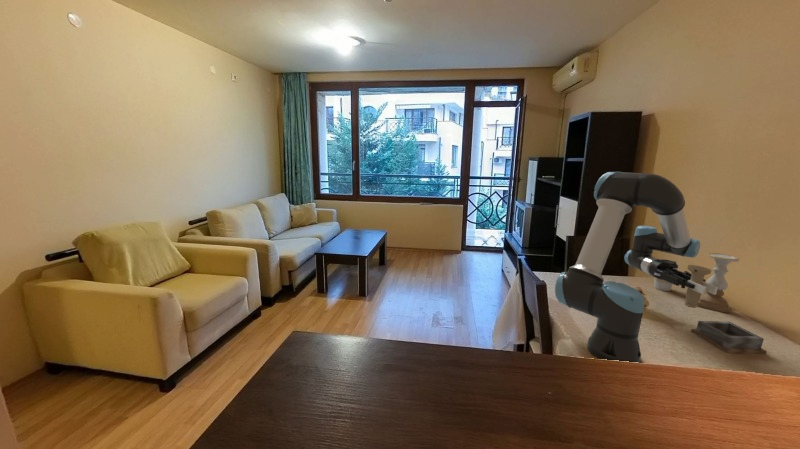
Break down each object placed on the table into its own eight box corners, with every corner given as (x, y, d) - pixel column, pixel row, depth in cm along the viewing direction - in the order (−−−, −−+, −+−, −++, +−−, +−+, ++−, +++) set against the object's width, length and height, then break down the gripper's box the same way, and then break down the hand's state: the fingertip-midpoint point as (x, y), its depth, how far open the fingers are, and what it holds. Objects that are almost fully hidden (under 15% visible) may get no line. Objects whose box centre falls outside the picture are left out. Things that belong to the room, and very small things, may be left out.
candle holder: (695, 298, 159) (706, 251, 154) (726, 305, 152) (739, 256, 147) (696, 306, 151) (707, 255, 146) (729, 313, 144) (742, 261, 139)
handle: (698, 311, 118) (707, 271, 115) (677, 304, 124) (685, 265, 121) (704, 308, 120) (714, 269, 117) (683, 301, 126) (692, 264, 123)
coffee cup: (653, 289, 169) (658, 261, 166) (649, 283, 177) (655, 256, 174) (675, 293, 165) (681, 264, 162) (670, 287, 173) (676, 259, 170)
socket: (726, 352, 114) (729, 339, 113) (690, 331, 127) (693, 319, 126) (766, 353, 114) (769, 340, 113) (726, 332, 128) (729, 320, 127)
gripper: (674, 277, 139) (730, 301, 116) (636, 276, 138) (684, 300, 115) (678, 260, 137) (735, 281, 114) (639, 259, 137) (689, 280, 114)
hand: (709, 290), depth 115 cm, fingers closed on handle, 3 cm apart
